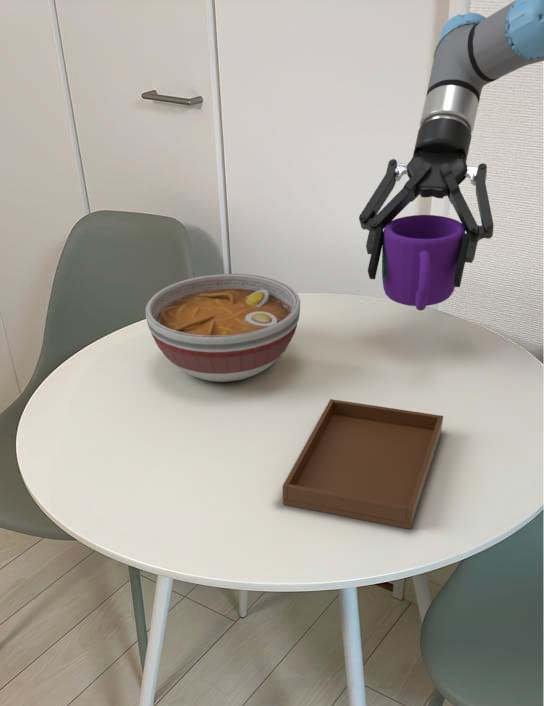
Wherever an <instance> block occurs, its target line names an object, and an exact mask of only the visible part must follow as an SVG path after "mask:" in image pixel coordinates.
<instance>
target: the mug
mask: <svg viewBox="0 0 544 706" xmlns="http://www.w3.org/2000/svg"><path fill="white" fill-rule="evenodd" d="M464 233H466V231H465V228H464V226H463V225H462V223H461V221H460V220H457V219H454V218H452V217H448V216H443V215H434V214H415V215H407V216H402V217H398V218H394V219H393V220H392V221H391V222H389V223H388V224H386V226H385V228H384V229H383V245H382V250H381V278H382V288H383V291H384V294H385V295H386V297H388V299H390V300H391V301H392V302H394V303H397V304H401V305H404V306H409V307H410V306H411V307H415V308H416V310H417V311H423V310H425V309H426V308H427V306H435V305H437V304H438V305H439V304H441V303H443V302H445V301H446V300H449V298H450V297H451V296H452V294H453V293H454V291H455V288H456V287H454V277H455V272H456V267H457V263H458V258H459V253H460V249H461V244H462V239H463V235H464Z"/></svg>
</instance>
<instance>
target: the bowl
mask: <svg viewBox="0 0 544 706" xmlns="http://www.w3.org/2000/svg"><path fill="white" fill-rule="evenodd" d="M300 314H301V299H300V297H299V295H298V293H297V292H296V291H295V290H294V289H293V288H292V287H290V286H289V285H287V284H286V283H284V282H281V281H280V280H277V279H273V278H270V277H266V276H261V275H255V274H246V273H217V274H208V275H202V276H201V275H200V276H196V277H191V278H188V279H184V280H180V281H178V282H175V283H173V284H170V285H168V286H166V287H164V288H162V289H160V290H159V291H157V292H156V293H155V294H154V295H153V296H152V297H151V298H150V299H149V300H148V302H147V304H146V307H145V318H146V323H147V327H148V329H149V332H150V334H151V337H152V338H153V341H154V343H155V344H156V346H157V347H158V349H159V350H160V351H161V353H162V354H163V355H164V357H165V358H166V359H167V360H169V362H171V363H172V364H173V365H174V366H176V367H177V368H178V369H179V370H180V371H182V372H183V373H185V374H187V375H190V376H192V377H195V378H198V379H200V380H204V381H208V382H216V383H230V382H237V381H242V380H246V379H249V378H251V377H253V376H256V375H257V374H258V375H259V374H260V373H262V372H263V371H265V370H267V369H268V368H269V367H271V366H272V365H273V364H274V363H275V362H276V361H277V360H278V359H279V358H280V357H281V356H282V355H283V354H284V353H285V351H286V350H287V348H288V346H289V344H290V343H291V341H292V339H293V338H294V335H295V333H296V330H297V327H298V322H299V321H300Z"/></svg>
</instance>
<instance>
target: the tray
mask: <svg viewBox="0 0 544 706" xmlns="http://www.w3.org/2000/svg"><path fill="white" fill-rule="evenodd" d="M443 422H444V415H438V414H434V413H426V412H421V411H412V410H408V409H407V410H406V409H400V408H393V407H386V406H379V405H374V404H373V405H372V404H365V403H359V402H352V401H347V400H339V399H332V398H330V399H329V400H328V403H327V404H326V406H325V408H324V410H323V412H322V413H321V415H320V417H319V418H318V421H317V423H316V424H315V427H314V428H313V429H312V432H311V434H310V435H309V437H308V439H307V441H306V442H305V445H304V446H303V448H302V450H301V452H300V453H299V455H298V456H297V459H296V461H295V463H294V464H293V466H292V468H291V470H290V472H289V473H288V475H287V477H286V479H285V481H284V483H283V484H282V505H284V506H288V507H289V506H290V507H293V508H298V509H299V508H300V509H303V510H304V509H306V510H309V511H315V512H321V513H325V514H331V515H335V516H341V517H346V518H351V519H355V520H356V519H357V520H361V521H366V522H371V523H375V524H382V525H386V526H392V527H397V528H401V529H406V530H411V528H412V525H413V522H414V518H415V516H416V512H417V509H418V506H419V504H420V499H421V497H422V493H423V490H424V488H425V484H426V480H427V478H428V475H429V471H430V469H431V467H432V466H431V465H432V463H433V459H434V457H435V454H436V449H437V447H438V445H439V440H440V437H441V434H442V428H443Z"/></svg>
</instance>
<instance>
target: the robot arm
mask: <svg viewBox="0 0 544 706" xmlns="http://www.w3.org/2000/svg"><path fill="white" fill-rule="evenodd" d="M541 62H544V0H514V1H512V2H510V3H509V4H507V5H505V6H504V7H502V8H500V9H499V10H497V11H496V12H494V13H492V14H490V15H489V16H487V17H486V16H485V15H482V14H481V13H477V12H467V13H466V14H456V15H453V16H452V17H451V18H449V19H448V20H447V21H446V22H445V24H444V25H443V27H442V28H441V30H440V34H439V39H438V42H437V44H436V48H435V49H434V52H433V61H432V66H431V71H430V75H429V81H428V85H427V90H426V95H425V99H424V103H423V108H422V112H421V116H420V121H419V129H418V131H417V135H416V139H415V140H416V141H415V145H414V150H413V154H412V157H411V159H410V161H409V162H408V163H400V162H397V160H396V159H394V158H392V159H390V160H389V161H388V164H387V168H386V172H385V174H384V176H383V178H382V180H381V181H380V182H379V184H378V186H377V187H376V188H375V190H374V192H373V194H372V195H371V197H370V198H369V200H368V201H367V203H366V205H365V206H364V208H363V210H362V211H361V213H360V214H359V216H358V220H359V224H360V227H361V229H362V230H367V231H368V233H367V234H368V235H367V239H366V243H365V248H366V253H367V255H370V258H369V263H368V267H367V273H368V276H369V280H376V278H377V277H376V276H377V274H378V273H377V272H378V267H379V264H380V258H381V255H382V247H383V232H384V228H385V226H386V224H388V223H389V222H391V221H392V220H395V219H396V217H397V216H398V215H399V214H400V213H401V212H402V211H403V210H404V209H405V208H406V207H407V206H408V205H409V204H411V203H412V202H414V201H415V200H416V199H417V198H418V197H419V196H420V197H421V198H432V197H433V198H437V199H444V197H447V198H448V200H449V202H450V204H451V205H452V207H453V209H454V211H455V212H456V214H457V216H458V218H459V222H460V223H462V225H463V226H464V228H465V233H464V235H463V239H462V244H461V249H460V253H459V258H458V263H457V267H456V272H455V277H454V287H455V288H461V284H462V280H463V274H464V269H465V265H466V263H469V264H472V263H473V262H474V260H475V257H476V252H477V247H478V243H479V241H480V240H483V239H487V240H490V239H491V238H493V236H494V227H495V225H494V220H493V215H492V210H491V205H490V200H489V195H488V190H487V184H486V182H487V174H488V173H487V172H488V171H487V170H488V165H487V164H486V163H483V162H482V163H480V164H478V166H468V164H467V160H468V156H469V151H470V146H471V142H472V133H473V131H474V127H475V123H476V118H477V113H478V108H479V105H480V101H481V100H480V99H481V95H482V91H483V88H484V86H486V85H488V84H490V83H492V82H495V81H497V80H499V79H500V78H503V77H504V76H506V75H508V74H510V73H512V72H515V71H517V70H519V69H521V68H523V67H526V66H528V65H533V64H537V63H541ZM404 175H407V177H408V180H407V181H406V182H405V183H404V185H403V187H402V188H401V189H400V190H399V191H398V193H397V194H395V195H394V197H393V198H391V200H390V201H389V202H388V203H386V205H384V204H385V202H386V201H387V200H388V197H390V195H391V193H392V192H393V189H394V188H395V187H396V183H397V182H400V181H401V180H402V178H403V176H404ZM467 178H468V179H469V181H470V184H471V185H472V186H475V196H476V202H477V206H478V212H479V217H480V222H481V225H479V224H478V223H477V221H476V219H475V216H474V215H473V213H472V211H471V209H470V207H469V205H468V204H467V201H466V199H465V198H464V197H465V196H464V195H463V193H462V191H461V188H460V185H461V184H462V183H463V182H464V181H465V180H466V179H467ZM383 205H384V206H383Z"/></svg>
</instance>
